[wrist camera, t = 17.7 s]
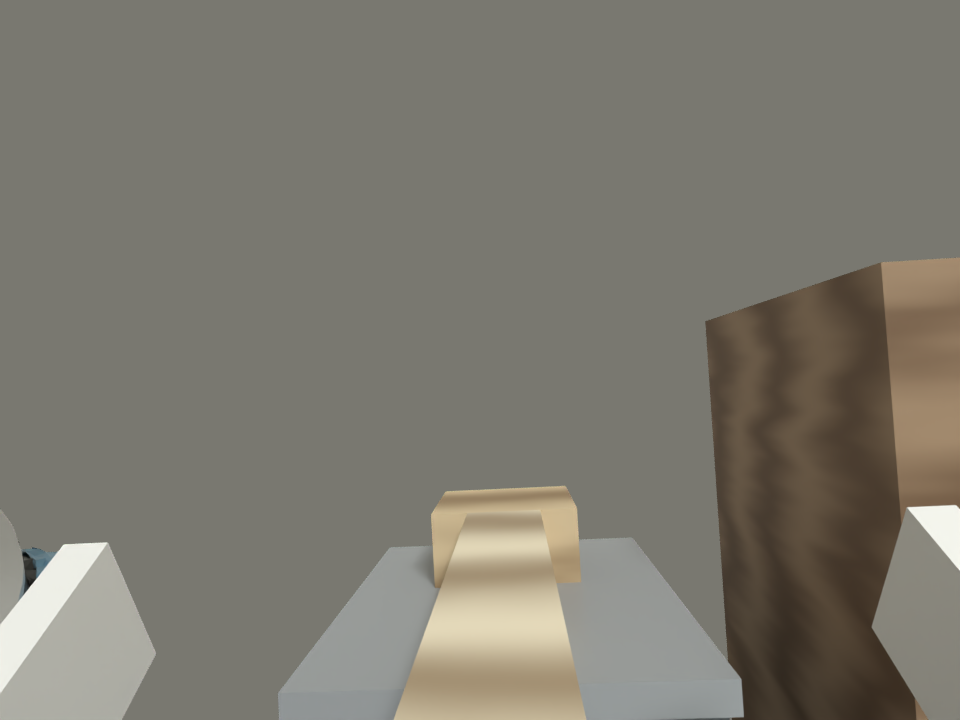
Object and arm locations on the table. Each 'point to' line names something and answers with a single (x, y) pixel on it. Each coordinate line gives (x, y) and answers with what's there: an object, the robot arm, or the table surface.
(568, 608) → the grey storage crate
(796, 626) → the walnut pedestal
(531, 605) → the pale wooden bar
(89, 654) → the robot arm
